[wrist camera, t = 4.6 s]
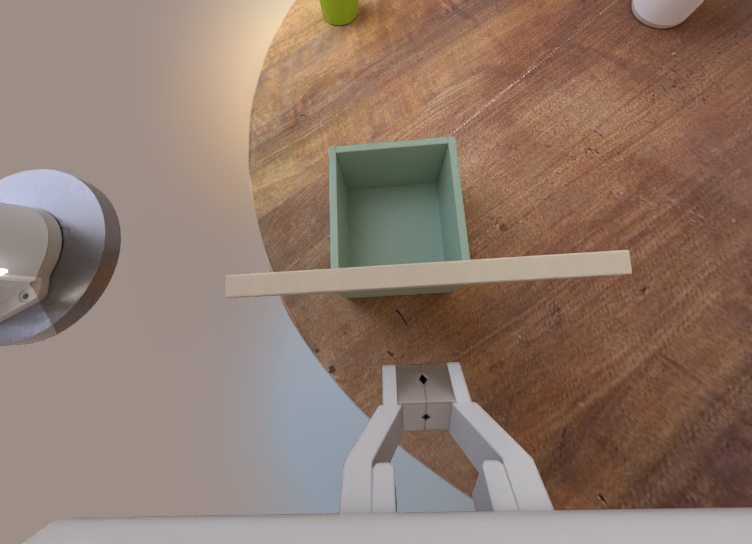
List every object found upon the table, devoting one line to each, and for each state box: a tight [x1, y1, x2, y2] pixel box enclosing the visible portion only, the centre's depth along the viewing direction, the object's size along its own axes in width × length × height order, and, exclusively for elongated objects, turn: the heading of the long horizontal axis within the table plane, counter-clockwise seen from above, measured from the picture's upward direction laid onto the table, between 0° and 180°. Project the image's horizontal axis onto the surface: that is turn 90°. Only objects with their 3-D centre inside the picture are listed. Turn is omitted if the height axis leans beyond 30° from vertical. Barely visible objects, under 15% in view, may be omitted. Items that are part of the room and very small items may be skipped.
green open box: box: [329, 136, 470, 298], centre depth 32 cm, size 16×14×9 cm
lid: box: [225, 250, 632, 298], centre depth 17 cm, size 16×14×1 cm
